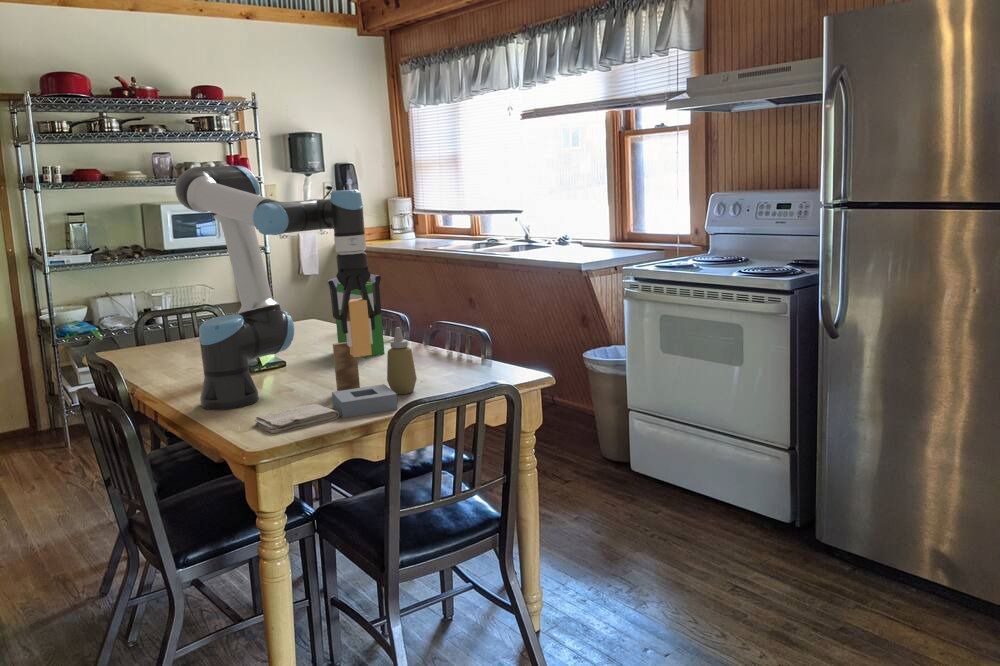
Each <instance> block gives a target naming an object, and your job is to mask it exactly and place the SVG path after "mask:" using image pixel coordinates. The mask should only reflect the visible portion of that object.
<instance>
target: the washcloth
mask: <svg viewBox="0 0 1000 666" xmlns="http://www.w3.org/2000/svg"><path fill="white" fill-rule="evenodd" d="M339 416H340V414H339V412H338V411H337V410H336V409H335V410H334V409H331V408H328V407H325V406H323V405H320V404H319V403H313V404H307V405H303V406H296V407H292V408H287V409H284V410H280V411H275V412H274V411H273V412H269V413H265V414H261V415H257V416H256V417H255V419H254V422H255V425H256V426H258V428H260V429H262V430H265V431H266V432H268V433H270V434H278V433H283V432H289V431H292V430H296V429H301V428H306V427H309V426H313V425H318V424H322V423H325V422H331V421H334V420H337V419H338V418H339Z"/></svg>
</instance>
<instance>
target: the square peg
mask: <svg viewBox="0 0 1000 666" xmlns="http://www.w3.org/2000/svg"><path fill="white" fill-rule="evenodd" d="M348 306H349V308H348V315H347V320H349V321H350V326H351V336H352V347H350V354H351V355H352V356H353V357H357V358H358V357H360V356H367V355H372V351H371V340H370V329H369V319H368V308H367V300H364V299H362V298H360V299H351V300H349V302H348ZM360 358H361V357H360Z"/></svg>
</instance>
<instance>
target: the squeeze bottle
mask: <svg viewBox="0 0 1000 666" xmlns="http://www.w3.org/2000/svg"><path fill="white" fill-rule="evenodd" d="M389 342H390V343H389V345H390V348H389V349H388V350H387V365H386V370H387V371H386V375H387V376H386V381H387V383H388V385H389V386H388V387H389V388H390V389H391V390H392V391H393V392H395V393H396V394H397V395H407V394H410V393H413V392H414V389H415V387H416V382H417V373H416V367H415V362H414V356H413V351H412V348H411V347H408V346H409V345H408V343H409V341H408V339H404V337H403V333H402V330H401V327H399V326H398V327H397V326H396V327H395V329H394V337H393V340H391V341H389Z"/></svg>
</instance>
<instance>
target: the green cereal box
mask: <svg viewBox="0 0 1000 666" xmlns="http://www.w3.org/2000/svg"><path fill="white" fill-rule="evenodd" d="M365 286H366V289H367V294H368V297H369V300H370V303H371V306H372V309H373V310H374V302H373V289H372V282H371V281H370V282H369V281H368V282H367V283H366V285H365ZM343 289H344V287H343V286H342V284H341V283H340V282H337V287H336V290H337V297H338V307H339V315H341V308H342V300H343ZM360 298H362V296H361V293H360V291H359V290H358V289H355V290H351V294H350V300H351V299H360ZM382 318H383V317H382V313H381V314H378V315H376V316H375V318H374V320H375V330H372V340H373V344H371V351H372V355H367V356H360V358H363V359H364V358H365V359H367V357H368V358H371V357H376V356H383V355H385V342H384V341H385V340H384V332H383V331H384V330H383V329H384V328H383V320H382ZM335 323H336V324H335V325H336V331H337V332H336V333H337V334H336V335H337V343H342V342H347V337H346V334H344V333H343V332H342V327H341V321H340V320H337V319H335Z"/></svg>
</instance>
